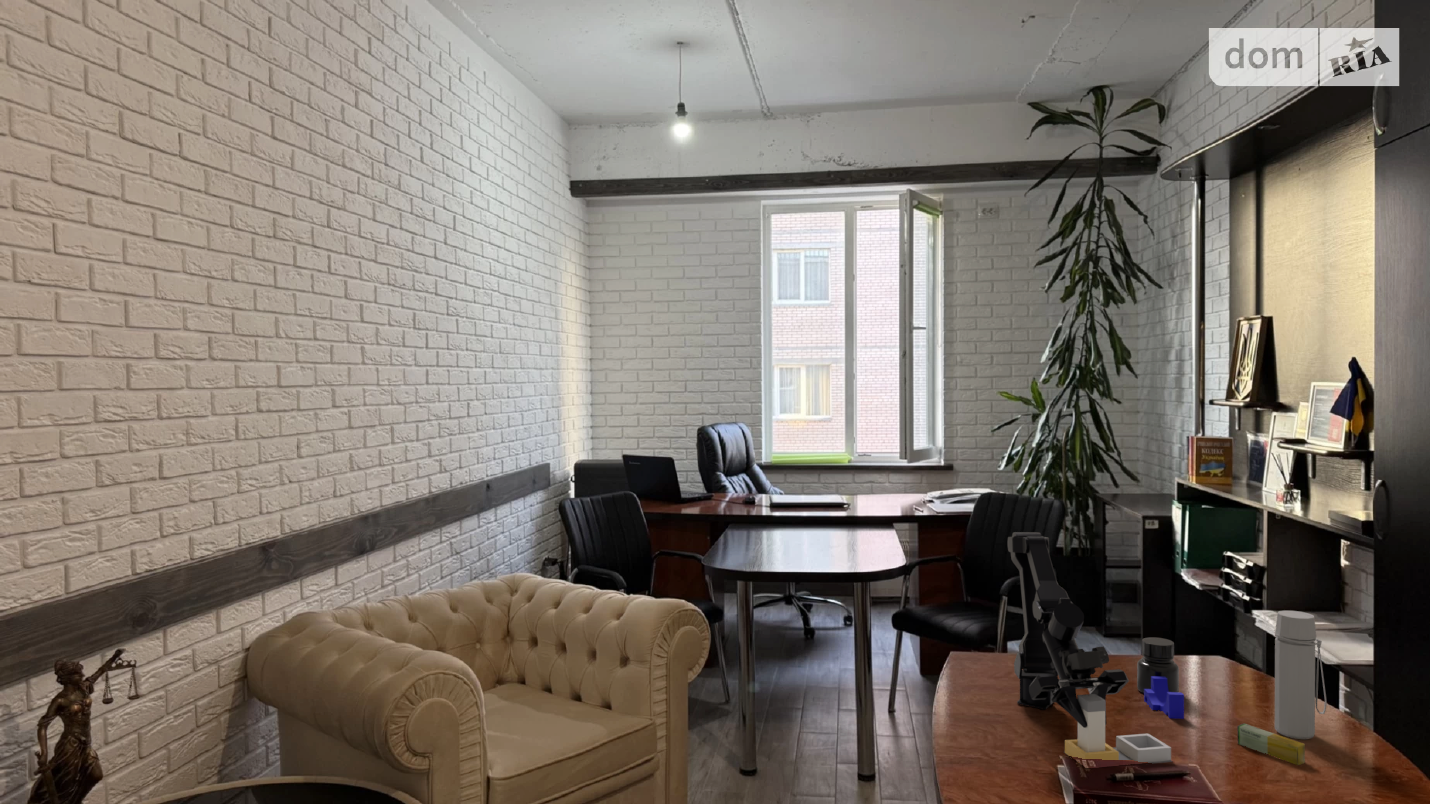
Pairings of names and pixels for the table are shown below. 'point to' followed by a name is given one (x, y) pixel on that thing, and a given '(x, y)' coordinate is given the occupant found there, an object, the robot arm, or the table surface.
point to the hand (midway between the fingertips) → (1095, 726)
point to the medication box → (1271, 744)
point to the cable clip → (1164, 698)
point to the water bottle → (1296, 674)
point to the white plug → (1092, 723)
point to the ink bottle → (1157, 664)
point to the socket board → (1126, 749)
